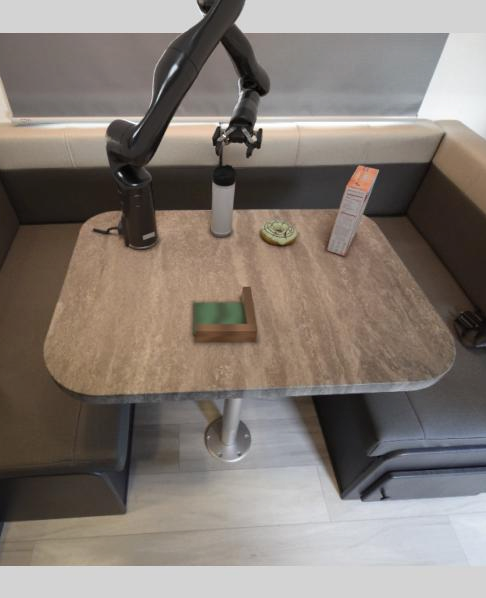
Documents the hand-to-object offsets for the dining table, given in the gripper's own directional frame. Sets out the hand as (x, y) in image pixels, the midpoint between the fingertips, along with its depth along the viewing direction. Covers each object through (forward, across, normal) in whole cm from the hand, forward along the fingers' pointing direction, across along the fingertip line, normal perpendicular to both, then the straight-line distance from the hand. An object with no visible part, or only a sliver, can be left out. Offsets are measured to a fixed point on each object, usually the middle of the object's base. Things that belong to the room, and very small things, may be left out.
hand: (232, 154), depth 99 cm
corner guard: (+47, +7, +8) cm, 48 cm away
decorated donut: (+12, +16, +20) cm, 28 cm away
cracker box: (+9, +34, +22) cm, 42 cm away
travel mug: (+14, -2, +18) cm, 23 cm away
